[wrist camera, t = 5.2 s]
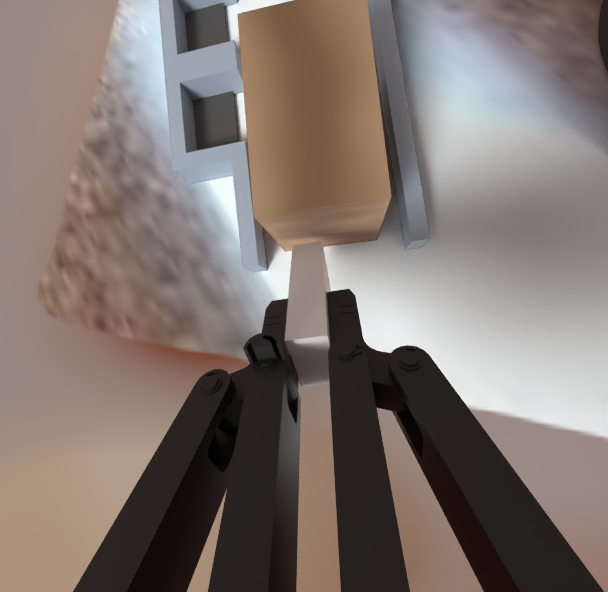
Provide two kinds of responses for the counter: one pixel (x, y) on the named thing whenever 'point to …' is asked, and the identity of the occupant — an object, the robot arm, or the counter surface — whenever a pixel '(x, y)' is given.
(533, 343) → the counter surface
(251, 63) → the walnut block
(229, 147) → the trap lane
